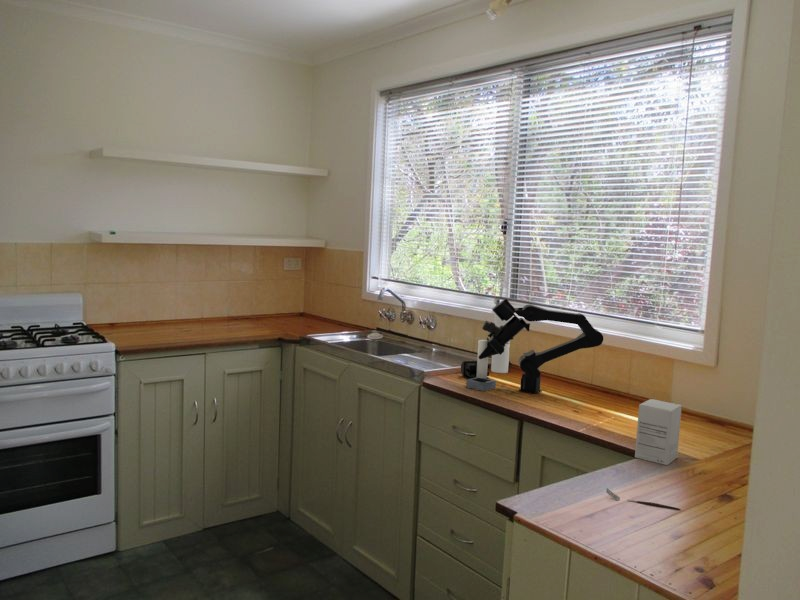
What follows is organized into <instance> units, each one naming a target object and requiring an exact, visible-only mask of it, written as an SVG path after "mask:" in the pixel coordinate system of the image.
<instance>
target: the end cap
mask: <svg viewBox="0 0 800 600" xmlns="http://www.w3.org/2000/svg"><path fill="white" fill-rule="evenodd" d="M488 370H491V366H490V364H489V363H488V369H487V378H486V379H489V376H490V371H488ZM460 373H461V375H462V376H463V378H464V379H466V380H467V379H471V378H476V375H477V360H469V361H468V360H464V361H463V360H462V362H461V365H460Z"/></svg>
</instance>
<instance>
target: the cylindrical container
mask: <svg viewBox="0 0 800 600" xmlns="http://www.w3.org/2000/svg"><path fill="white" fill-rule="evenodd" d="M512 318H513V316H512V317H511V318H510V319H509V320H511V319H512ZM493 319H494V321H493V323H495V325H496V326H498V327H500V326H501V325H503V326H504V325H505V324H506V323H507V322H508V321H509V320H508V321H505V320H503V321H502V320H501V319H500V318H499V317H498V316H497V315H496V314H495V313H494V316H493ZM510 344H511V340H510V341H509V342H508V343H506V344H505V346H504V352H503V353H502V354H501V355H500V354H496V355H492V356H491V366H490V371H491V372H493V373H497V374H506V373H507V374H508V373H509V362H510V361H509V360H510V346H511V345H510Z"/></svg>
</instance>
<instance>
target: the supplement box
mask: <svg viewBox="0 0 800 600" xmlns="http://www.w3.org/2000/svg"><path fill="white" fill-rule="evenodd" d="M682 407H683V406H682V404H680V403H679V404H677V403H673V402H668V401H667V402H666V401H663V400H658V399H652V398H649V399H648V400H646V401H643V402H642V403H640V404H638V414H637V415H638V417H637V425H636V426H637V427H636V428H637V429H636V439H635V452H634V458H637V459H640V460H644V461H649V462H651V463H656V464H660V465H665V466H669V464H671V463H672V462H673V461H674V460H676V459H677V458H678V453H679V443H680V442H679V441H680V432H681V431H680V429H681V420H682V419H681V417H682V409H683V408H682Z"/></svg>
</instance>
